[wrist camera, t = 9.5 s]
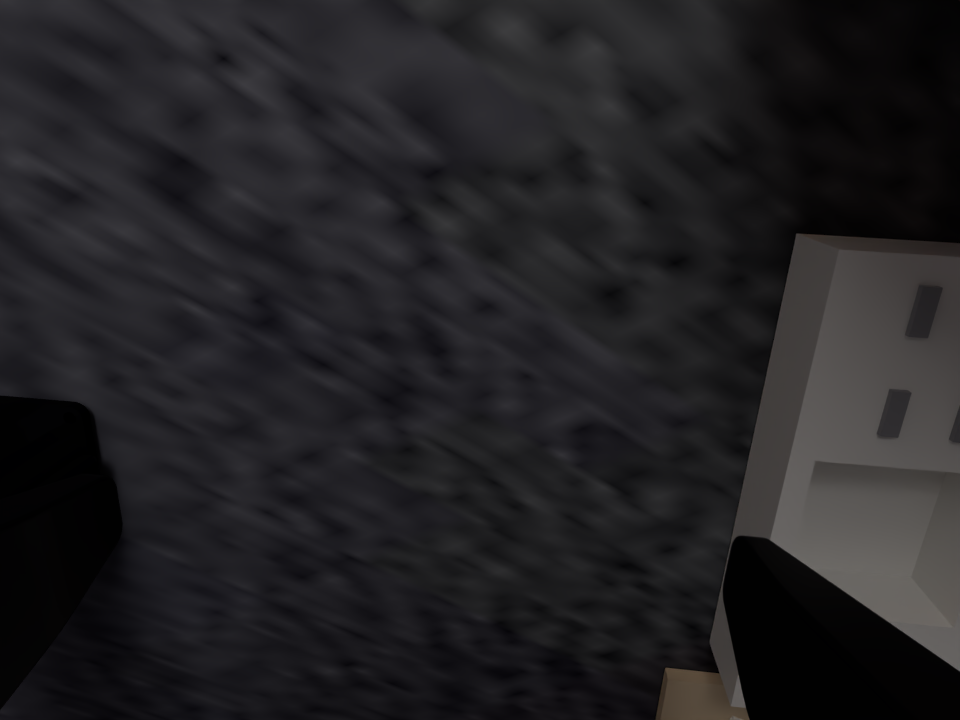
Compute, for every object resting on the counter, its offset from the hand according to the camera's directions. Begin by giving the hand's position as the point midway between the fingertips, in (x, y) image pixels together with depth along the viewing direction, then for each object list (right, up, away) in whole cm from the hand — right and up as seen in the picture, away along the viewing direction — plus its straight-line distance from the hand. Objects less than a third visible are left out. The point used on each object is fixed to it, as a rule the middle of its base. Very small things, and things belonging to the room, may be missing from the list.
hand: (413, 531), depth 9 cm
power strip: (+14, -1, +13) cm, 19 cm away
